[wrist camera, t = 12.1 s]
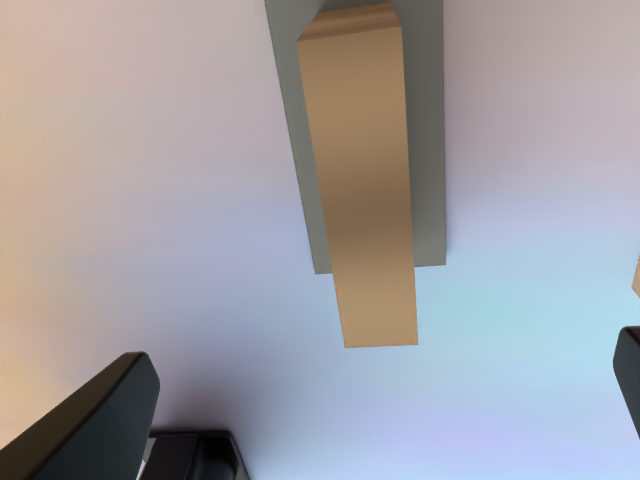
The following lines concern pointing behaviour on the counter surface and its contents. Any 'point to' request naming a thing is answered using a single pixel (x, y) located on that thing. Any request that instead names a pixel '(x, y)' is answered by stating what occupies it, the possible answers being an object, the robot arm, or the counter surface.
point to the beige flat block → (637, 280)
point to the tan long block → (363, 168)
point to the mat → (421, 116)
